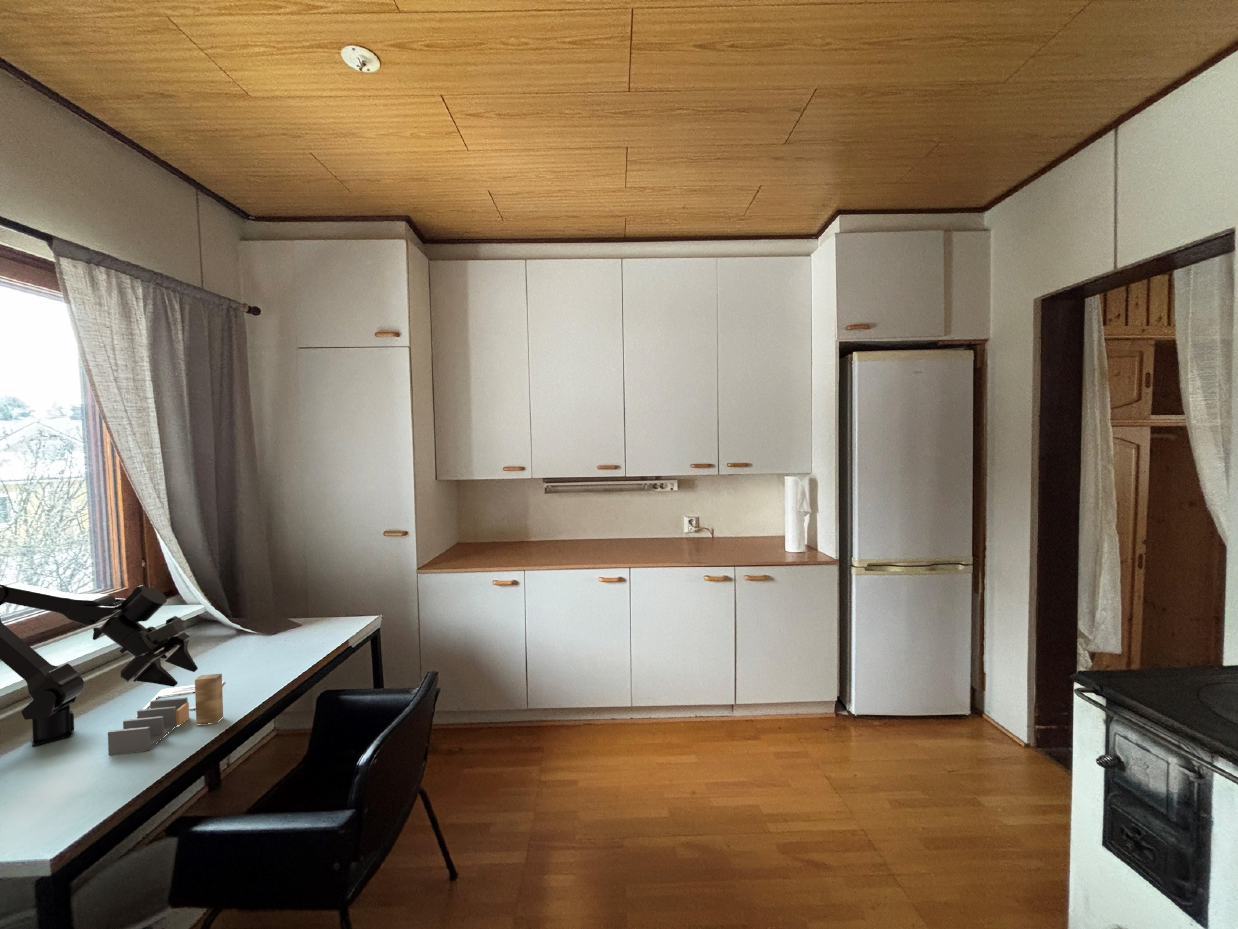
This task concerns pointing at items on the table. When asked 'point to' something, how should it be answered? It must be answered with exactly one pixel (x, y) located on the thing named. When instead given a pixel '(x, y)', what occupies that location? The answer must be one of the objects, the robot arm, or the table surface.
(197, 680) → the wooden block
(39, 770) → the table surface
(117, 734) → the rack
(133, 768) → the table surface
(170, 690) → the photo frame
